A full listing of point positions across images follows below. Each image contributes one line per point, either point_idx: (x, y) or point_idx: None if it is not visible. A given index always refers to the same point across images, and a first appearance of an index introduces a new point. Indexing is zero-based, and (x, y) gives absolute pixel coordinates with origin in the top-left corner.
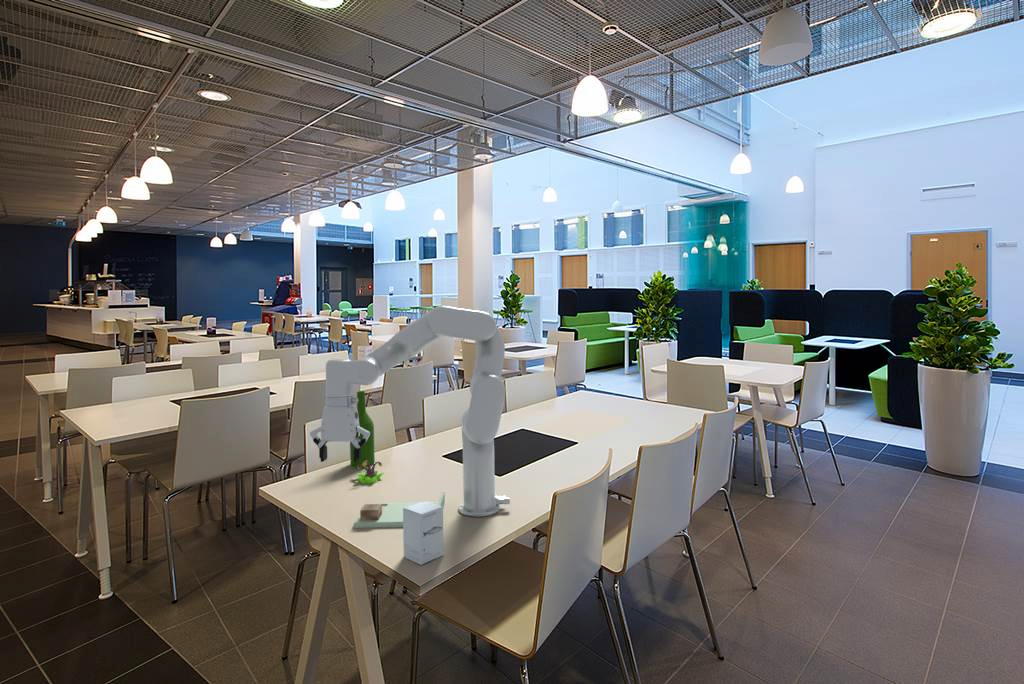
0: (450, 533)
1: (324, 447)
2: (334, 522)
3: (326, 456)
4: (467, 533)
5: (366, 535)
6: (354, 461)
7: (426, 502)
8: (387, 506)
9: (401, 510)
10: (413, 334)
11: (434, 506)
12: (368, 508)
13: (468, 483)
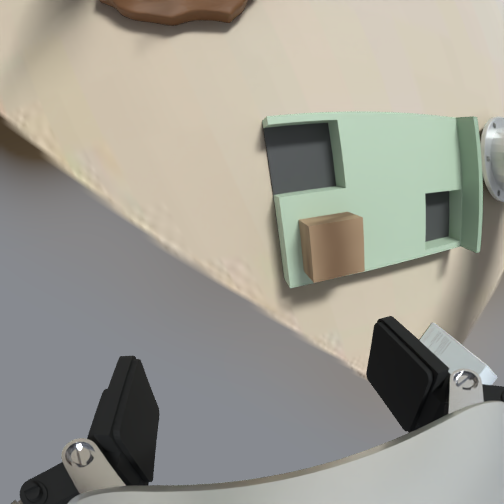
0: (465, 255)
1: (134, 465)
2: (196, 222)
3: (139, 381)
4: (482, 251)
5: (323, 294)
6: (371, 378)
7: (485, 373)
8: (344, 145)
9: (390, 180)
10: None
11: (489, 384)
12: (334, 263)
13: None
